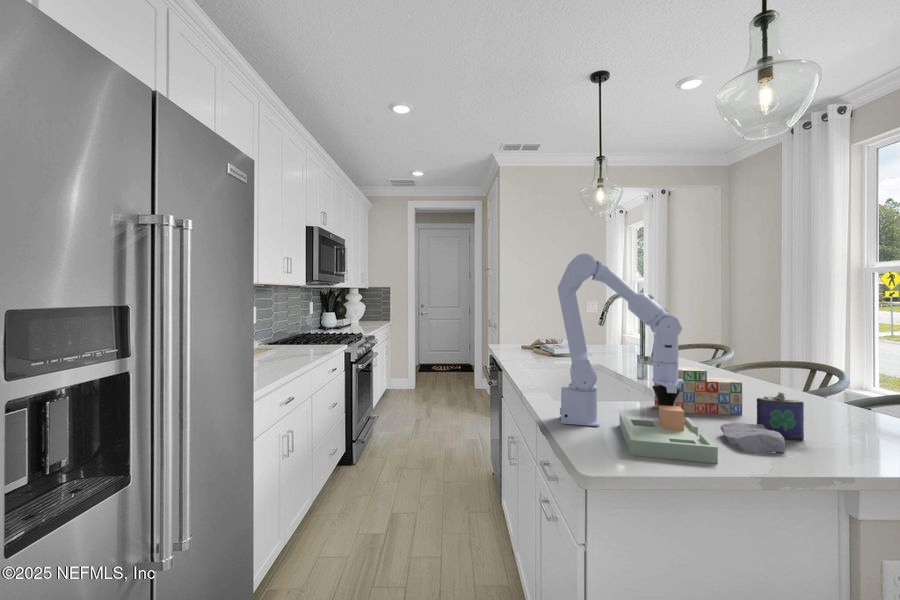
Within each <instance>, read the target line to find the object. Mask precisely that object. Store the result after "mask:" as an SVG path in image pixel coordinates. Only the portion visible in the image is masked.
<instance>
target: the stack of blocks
mask: <svg viewBox="0 0 900 600" xmlns="http://www.w3.org/2000/svg"><path fill="white" fill-rule="evenodd" d="M678 379H682V380H683V381H684V383H679V384H678V385H677V388H678V390H679V391H680V392H679V394H678V396H677V397H676V399H675V402H674V405H673V406H679V407H680V408H681V409H682V410H683V411H684V412H685V413H686V414H707V413H713V415H730V416H731V415H733V416H735V415H736V416H737V415H738V416H742V415H743V382H742V381H739V380H736V379H734V378H731V377H730V378H728V377H723V378H722V377H708V371H707V370H705V369H702V368H700V367H696V366H678ZM659 385H660V384H657V383H654V382H653V386H659ZM653 401H654V407H655V406H656V407H657V408H658V409H657V408H656V407H655V408H656V409H657V410H659V406H658V401H657V397H656V394H655V392H654V400H653ZM685 413H684V414H685Z"/></svg>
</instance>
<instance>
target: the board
mask: <svg viewBox="0 0 900 600" xmlns="http://www.w3.org/2000/svg"><path fill="white" fill-rule="evenodd" d="M619 427H620V430H622V431H621V433H622V436H623V438H624V441H625V444H626V446H627V448H628V449H627V450H628V451H629V453H630V454H629V455H630V456H633V457H634V456H636V457H645V458H648V457H649V458H658V459H667V460H678V461H687V462H688V461H690V462H699V463H710V464H718V463H719V462H718V455H719V452H718V451H719V450H718V449H719V446H717V445H716V444H715V443H714V442H713V441H712V440H711V439H710V438H709V436H707V435H706V434H705V433H699V432H698V431H699V427H698V425H697V424H696V423H695V422H694V420H692V419H691V418H690V417H685V416H684V431H681V430H668V429H662V427H661V426H660V424H659V419H658V420H656V419H655V420H654V419H645V418H642V419H641V418H630V417H626V415H625V413H624V412H620V413H619Z"/></svg>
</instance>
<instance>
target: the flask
mask: <svg viewBox="0 0 900 600" xmlns="http://www.w3.org/2000/svg"><path fill="white" fill-rule="evenodd" d="M786 395H787V394H786V393H784V392H780V391H779V392H778V394H777V395H776V396H769V397H768V396H766V395H764V397H758V398H756V424H757V425H759V424H762V425H764V427H765V428H766V429H768V430H771V431H776V432H779V433H780V434H781V435H782V436H783V437H784V440H785V441H787V440H788V441H804V439H805V434H804V431H805V427H804V426H805V425H804V422H805V421H804V420H805V418H804V417H805V415H804V413H805V411H804V410H805V409H804V408H805V405H804V404H805V403H804V401H803V400H799V399H786Z"/></svg>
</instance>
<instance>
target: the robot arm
mask: <svg viewBox="0 0 900 600" xmlns="http://www.w3.org/2000/svg"><path fill="white" fill-rule="evenodd" d="M591 277H592V278H591ZM590 278H591V280H592V281H594V282H600V283H603V284H605V285H606V286H607V287H609V288H610V289H611V290H612V291H614V292H615V293H616V294H617V295H619V296H620V297H621V298H622V299H624V300H625V301H626V302H627V308H628V309H627V310H628V311H630V312H631V313H632V314H633V315H635V316H636V317H637V318H638V319H639V320H640V321H642V323H644V324H645V325H646V326H648V327H650V330H651V332H652V333H653V343H652V378H651V381H652V383H653V384H654V383H657V384H660V385H659V386H654V385H652V386H651V387H652V390H653V391H654V392H655V393H654V395H655V394H656V397H657V401H658V406H659V405H663V406H673V405H674V402H675V399H676V397H677V396H678V394H679V392H680V391H679V390H678V388H677V385H678V384H679V383H684V381H683V380H682V379H678V367H679V335H680V334H681V332H682V330H683V327H682V326H681V322H680V320H679V319H678V318H677V317H675V315H670V314H668V313H669V309H667V308H665V307H662V306H661V305H660V304H659V303H657V302H656V301H655V300H654V298H655V297H654V296H653V295H652V294H647V293H645V292H637V291H635V290H634V289H633V288H632V287H631V286H629V285H628V283H626V282H625V281H624V280H623V279H622V278H621V277H620V276H618V275H617V274H616V273H615V272H614V271H613V270H612V269H611V268H609V266H607V265H605V264H604V263H603V262H601V261H600V260H597V259H596V258H595V257H594V256H593V255H591V254H589V253H579V254H577V255H575V257H573V259H572V260H571V261H570V262H569V263H568V264H567V266H566V268H565V270H564V273H563V275H562V277H561V279H560V281H559V284H558V285H557V293H558V300H559V303H560V309H561V312H562V313H561V314H562V319H563V324H564V329H565V334H566V340H567V345H568V350H569V354H570V361H571V366H570V370H569V373H570V379H571V382H570V383H568V386H563V387H561V390H560V407H559V415H560V423H561V424H564V425H578V426H588V427H589V426H590V427H591V426H592V427H600V421H599V417H598V386H597V385H596V382H597V379H598V377H597V373H596V371H595V369H594V367H593V365H592V364H591V362H590V357H589V353H588V348H587V344H586V343H587V342H586V338H585V332H584V329H583V328H584V327H583V322H582V317H581V312H580V308H579V301H578V298H577V292H578V290H580V287H581V286H582V285H583V283H584V282H586V281H587V280H588V279H590Z"/></svg>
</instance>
